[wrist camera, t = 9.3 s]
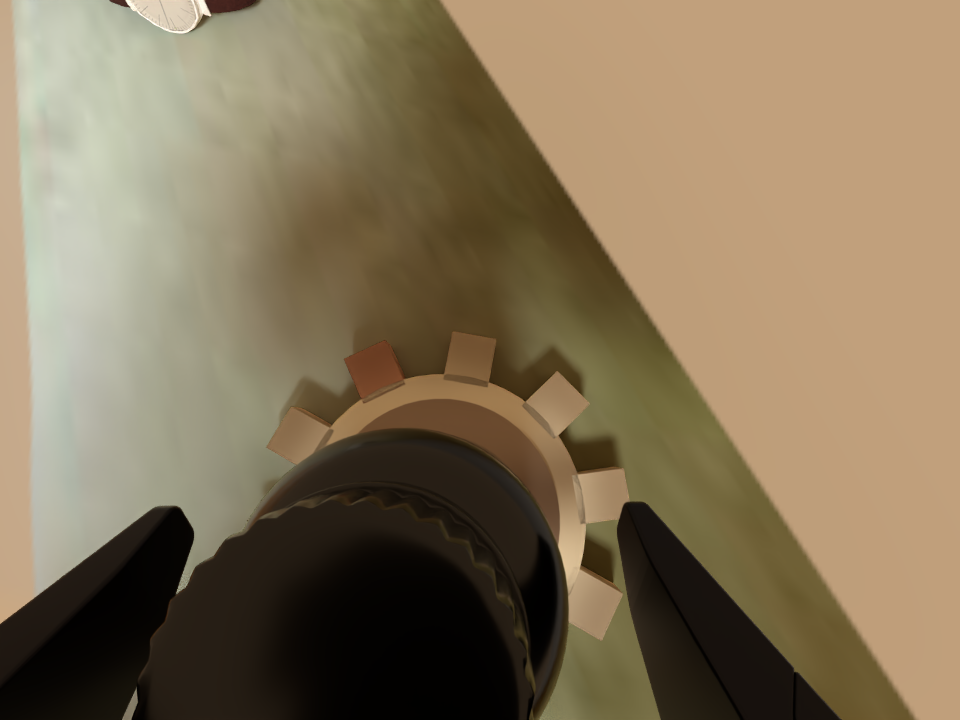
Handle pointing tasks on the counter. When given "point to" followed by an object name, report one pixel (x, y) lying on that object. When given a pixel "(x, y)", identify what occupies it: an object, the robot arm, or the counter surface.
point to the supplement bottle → (371, 595)
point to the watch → (180, 11)
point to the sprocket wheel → (499, 428)
